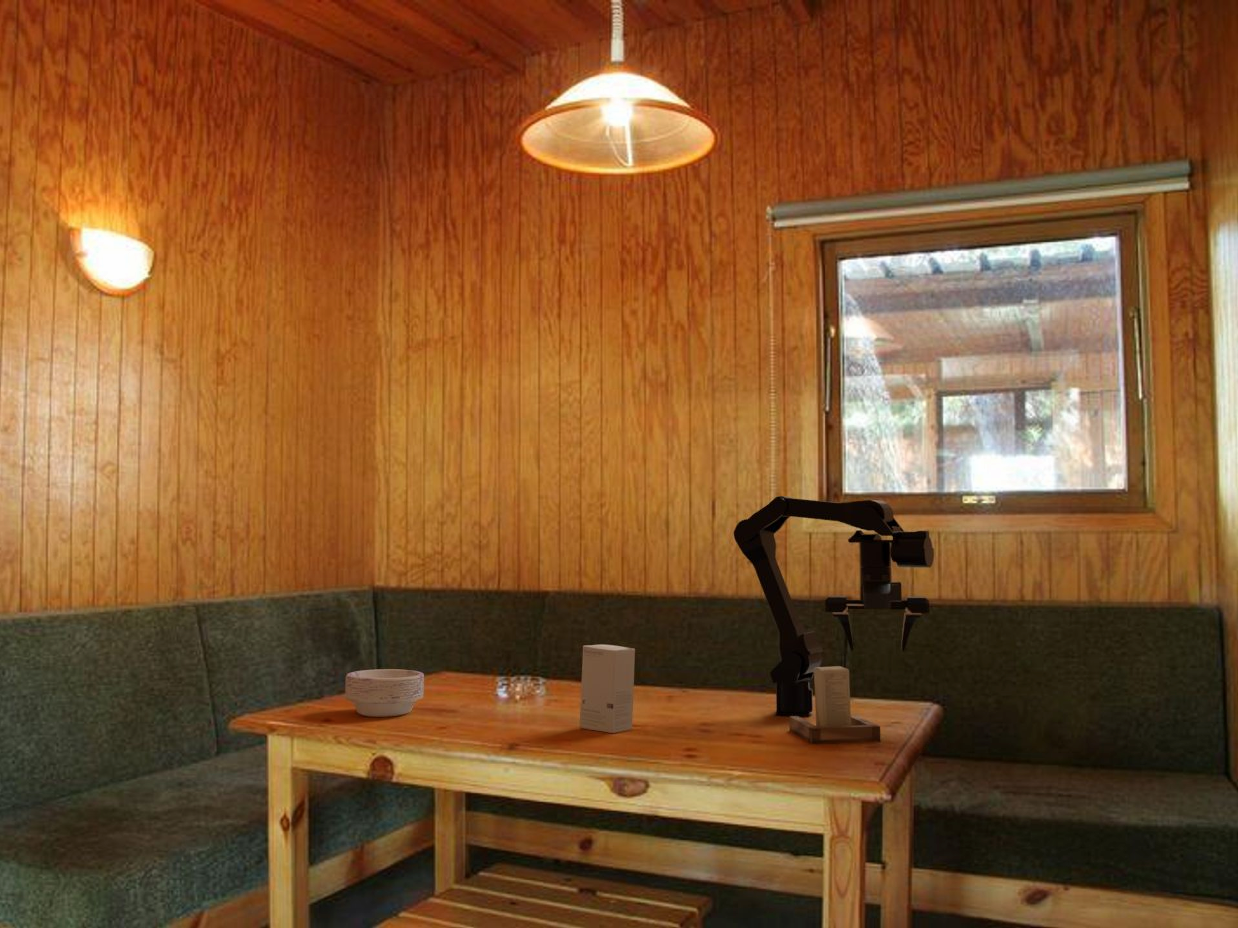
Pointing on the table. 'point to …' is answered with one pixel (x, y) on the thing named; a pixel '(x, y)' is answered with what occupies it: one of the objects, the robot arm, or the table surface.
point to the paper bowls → (384, 691)
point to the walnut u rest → (836, 731)
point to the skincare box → (607, 688)
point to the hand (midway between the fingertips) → (877, 651)
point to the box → (832, 696)
